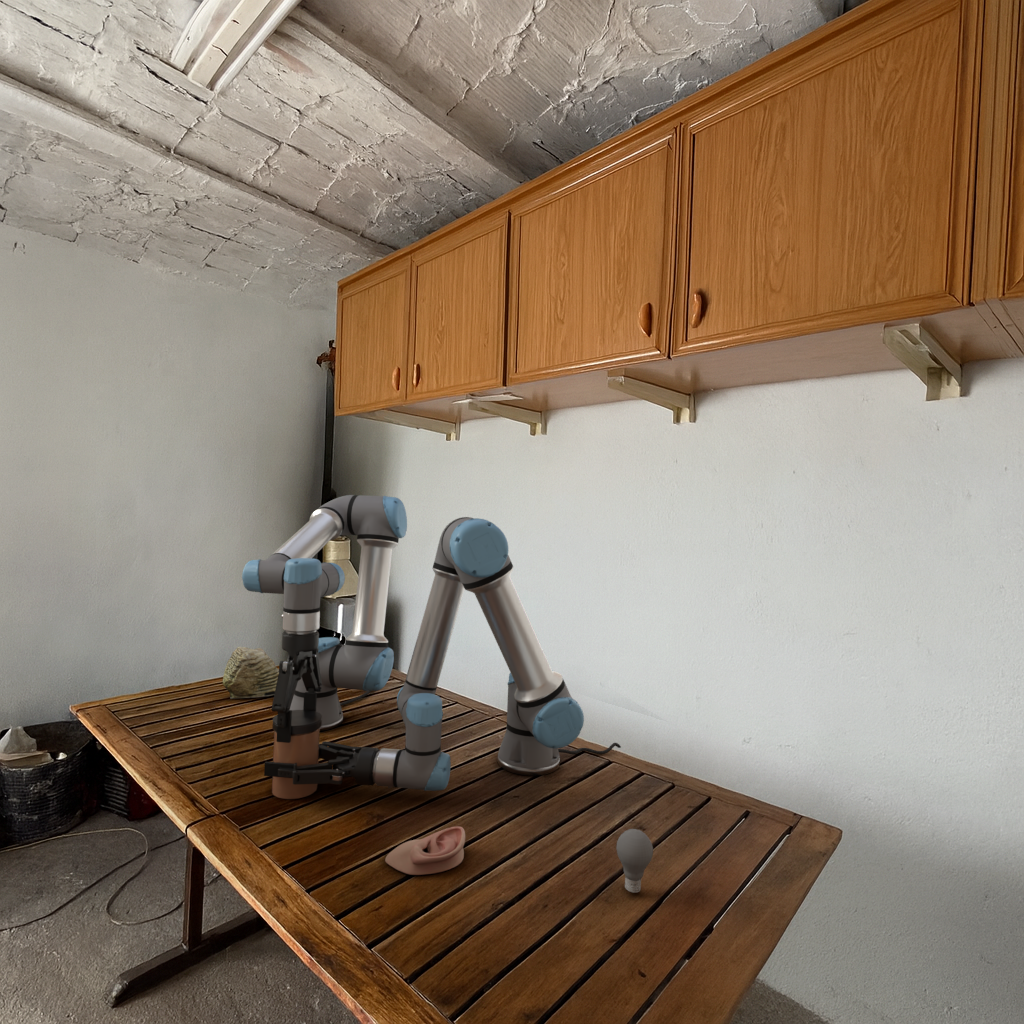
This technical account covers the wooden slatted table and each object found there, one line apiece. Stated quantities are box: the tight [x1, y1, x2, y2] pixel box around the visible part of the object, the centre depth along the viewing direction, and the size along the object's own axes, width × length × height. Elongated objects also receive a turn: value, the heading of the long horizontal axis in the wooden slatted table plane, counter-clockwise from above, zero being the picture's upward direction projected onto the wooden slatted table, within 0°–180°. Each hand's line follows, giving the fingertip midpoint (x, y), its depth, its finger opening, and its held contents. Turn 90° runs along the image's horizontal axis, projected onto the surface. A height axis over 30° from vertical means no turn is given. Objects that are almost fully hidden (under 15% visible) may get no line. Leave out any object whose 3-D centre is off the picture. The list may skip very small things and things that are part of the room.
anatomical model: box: [384, 826, 466, 876], centre depth 113 cm, size 13×4×12 cm
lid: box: [272, 710, 322, 735], centre depth 137 cm, size 10×10×2 cm
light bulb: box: [615, 828, 654, 894], centre depth 106 cm, size 6×6×10 cm
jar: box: [271, 728, 321, 800], centre depth 137 cm, size 9×9×15 cm
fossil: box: [222, 646, 279, 699], centre depth 198 cm, size 9×18×15 cm, turn 132°
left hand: (297, 731), depth 137 cm, fingers open, 11 cm apart
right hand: (276, 758), depth 137 cm, fingers closed on jar, 9 cm apart
